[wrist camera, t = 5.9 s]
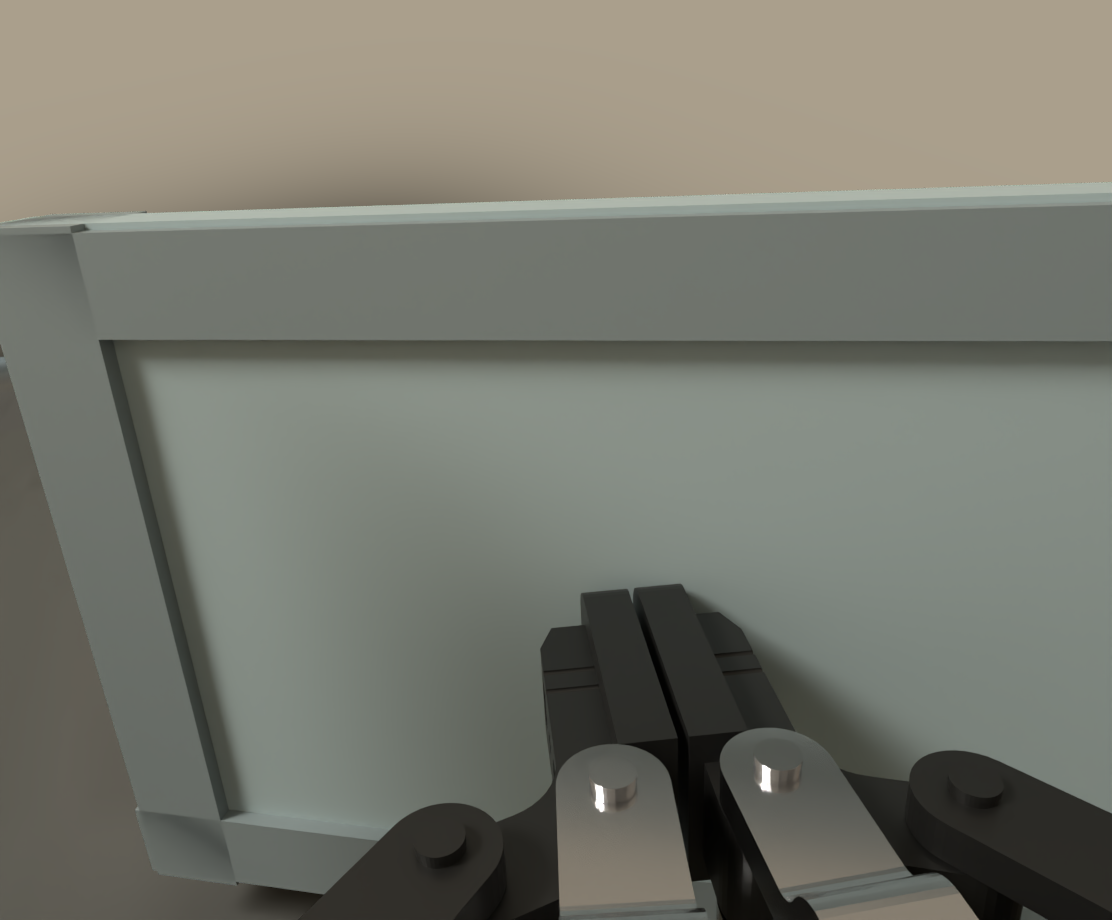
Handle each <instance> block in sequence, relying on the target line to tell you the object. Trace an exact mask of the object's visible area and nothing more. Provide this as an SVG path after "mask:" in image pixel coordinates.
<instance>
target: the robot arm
mask: <svg viewBox="0 0 1112 920" xmlns="http://www.w3.org/2000/svg"><path fill="white" fill-rule="evenodd" d="M580 606H581V625H578V626H567V627H557V628H551V629H550V631H549V633H548V635H547V637H546V639H545V641H544V643H543V645H542V646H541V648H540V653H541V667H542V682H543V696H544V711H545V725H546V735H547V743H548V751H549V759H550V767H551V774H552V784H551V786H550V787H549V789H548V790H547V792H546V793H545V794H544V795H543V796H542V797H541V798H540V799H539V800H538V801H537V802H536V803H534V804H533V805H532V806H530V807H529V808H527V809H525V810H524V811H522V812H520V813H517V814H515V815H513V816H510V817H508V818H505V819H503V820H500V821H498V822H495V820H494V819H493V818H492V817H491V816H490V815H488V814H487V813H486V812H484V811H482V810H481V809H479V808H476V807H474V806H471V805H466V804H461V803H441V804H435V805H430V806H427V807H424V808H421V809H419V810H417V811H415V812H413V813H410V814H409V815H407V816H406V817H404V818H403V819H401V820H400V821H399V822H398V823H397V824H395V825H394V826H393V827H392V828H391V829H390V830H389V831H388V832H387V833H386V834H385V835H384V836H383V837H382V838H381V839H380V840H379V841H378V842H377V843H376V844H375V845H374V846H373V847H372V848H371V849H370V850H369V851H368V852H367V853H366V854H365V855H364V856H363V857H362V858H361V859H360V860H359V861H358V862H357V863H356V864H354V865H353V866H352V867H351V868H350V869H349V870H348V871H347V872H346V873H345V874H344V875H343V876H342V877H341V878H340V879H339V880H338V881H337V882H336V883H335V884H334V885H333V886H332V887H331V888H330V889H329V890H328V891H327V892H326V893H325V894H324V895H323V896H322V897H321V898H320V899H319V900H318V901H317V902H316V903H315V904H314V905H313V906H312V907H311V908H310V909H309V910H308V911H307V912H306V913H305V914H304V915H302V916H301V917H300V918H299V919H298V920H709V918H708V915H707V912H706V910H705V909H704V908H697V905H696V901H695V896H694V891H693V886H692V882H694V881H703V880H711V882H712V886H713V889H714V892H715V895H716V920H1020V919H1021V914H1022V909H1023V906H1024V907H1026V908H1028V909H1029V910H1031V911H1033V912H1035V913H1037V914H1038V915H1040V916H1042V917H1044V918H1045V919H1047V920H1112V813H1110V812H1108V811H1105V810H1103V809H1101V808H1099V807H1097V806H1095V805H1093V804H1090V803H1088V802H1086V801H1084V800H1082V799H1080V798H1077V797H1075V796H1073V795H1071V794H1069V793H1067V792H1064V791H1062V790H1060V789H1058V788H1056V787H1054V786H1052V785H1049V784H1047V783H1045V782H1043V781H1041V780H1039V779H1036V778H1034V777H1032V776H1030V775H1028V774H1026V773H1024V772H1021V771H1019V770H1017V769H1015V768H1013V767H1011V766H1008V765H1006V764H1004V763H1002V762H1000V761H998V760H995V759H993V758H990V757H988V756H984V755H981V754H978V753H973V752H967V751H958V750H946V751H939V752H934V753H931V754H928V755H926V756H924V757H922V758H921V759H919V760H918V761H917V762H916V763H915V764H914V766H913V767H912V769H911V772H910V776H909V781H902V780H894V779H887V778H879V777H871V776H865V775H860V774H855V773H851V772H848V771H845V770H842V769H839V767H838V766H837V764H836V763H835V761H834V760H833V758H832V757H831V756H830V754H829V753H828V752H827V751H826V750H825V749H824V748H823V747H822V746H821V745H820V744H818V743H817V742H815V741H814V740H812V739H811V738H809V737H807V736H805V735H802V734H800V733H797V732H796V731H795V729H794V727H793V725H792V724H791V722H790V720H789V718H788V716H787V714H786V712H785V710H784V708H783V706H782V705H781V703H780V701H779V699H778V697H777V695H776V693H775V691H774V689H773V688H772V686H771V684H770V682H769V680H768V678H767V676H766V674H765V672H762V667H761V665H760V663H759V661H758V659H757V657H756V655H755V654H754V655H753V650H752V648H751V646H750V644H749V642H748V640H747V638H746V636H745V634H744V633H743V631H742V629H741V628H740V627H738V626H737V625H736V624H734V623H733V622H732V621H730V620H729V619H728V618H726V617H725V616H724V615H722V614H721V613H720V612H711V613H701V614H695V611H694V609H693V607H692V605H691V603H690V600H689V598H688V596H687V594H686V592H685V589H684V587H683V585H682V584H669V585H658V586H648V587H637V588H634V591H633V603H632V600H631V597H630V594H629V591H628V589H617V590H607V591H596V592H585V593H581V597H580Z"/></svg>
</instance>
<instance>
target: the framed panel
mask: <svg viewBox="0 0 1112 920" xmlns="http://www.w3.org/2000/svg"><path fill="white" fill-rule="evenodd" d="M0 344H1V347H2V351H3V354H4V357H5V361H6V364H7V367H8V371H9V374H10V377H11V381H12V384H13V388H14V391H15V394H16V398H17V401H18V404H19V408H20V411H21V414H22V418H23V421H24V425H25V428H26V431H27V435H28V438H29V441H30V445H31V448H32V451H33V455H34V458H35V462H36V465H37V468H38V472H39V475H40V478H41V482H42V485H43V488H44V492H45V495H46V499H47V502H48V505H49V509H50V512H51V515H52V519H53V522H54V525H55V529H56V532H57V536H58V539H59V542H60V546H61V549H62V552H63V556H64V559H65V562H66V566H67V569H68V573H69V576H70V579H71V583H72V586H73V589H74V593H75V596H76V600H77V603H78V606H79V610H80V613H81V616H82V620H83V623H84V626H85V630H86V633H87V637H88V640H89V643H90V647H91V650H92V653H93V657H94V660H95V663H96V667H97V670H98V674H99V677H100V680H101V684H102V687H103V690H104V694H105V697H106V700H107V704H108V707H109V711H110V714H111V717H112V721H113V724H114V727H115V731H116V734H117V737H118V741H119V744H120V748H121V751H122V754H123V758H124V761H125V764H126V768H127V771H128V774H129V778H130V781H131V785H132V788H133V791H134V795H135V798H136V801H137V805H138V807H137V808H136V809H135V812H136V816H137V819H138V822H139V826H140V829H141V832H142V836H143V839H144V842H145V846H146V849H147V852H148V856H149V859H150V862H151V866H152V869H153V870H156V871H157V872H158V874H160V875H166V876H173V877H180V878H187V879H194V880H201V881H208V882H215V883H222V884H229V885H236V886H237V885H238V883H239V882H240V883H247V884H254V885H261V886H268V887H275V888H282V889H289V890H296V891H303V892H310V893H317V894H325V893H326V892H327V891H328V890H329V889H330V888H331V887H332V886H333V885H334V884H335V883H336V882H337V881H338V880H339V879H340V878H341V877H342V876H343V875H344V874H345V873H346V872H347V871H348V870H349V869H350V868H351V867H352V866H353V865H354V864H356V863H357V862H358V861H359V860H360V859H361V858H362V857H363V856H364V855H365V854H366V853H367V852H368V851H369V850H370V849H371V848H372V847H373V846H374V845H375V844H376V843H377V842H378V841H379V840H380V839H381V838H382V837H383V836H384V835H385V834H386V833H387V832H388V831H389V830H390V829H391V828H392V827H393V826H394V825H395V824H397V823H398V822H399V821H400V820H401V819H403V818H404V817H406V816H407V815H409V814H410V813H413V812H415V811H417V810H419V809H421V808H424V807H427V806H430V805H435V804H441V803H461V804H466V805H471V806H474V807H476V808H479V809H481V810H482V811H484V812H486V813H487V814H488V815H490V816H491V817H492V818H493V819H494V820H495V822H498V821H500V820H503V819H505V818H508V817H510V816H513V815H515V814H517V813H520V812H522V811H524V810H525V809H527V808H529V807H530V806H532V805H533V804H534V803H536V802H537V801H538V800H539V799H540V798H541V797H542V796H543V795H544V794H545V793H546V792H547V790H548V789H549V787H550V786H551V784H552V774H551V767H550V759H549V751H548V743H547V735H546V725H545V711H544V696H543V682H542V667H541V653H540V648H541V646H542V645H543V643H544V641H545V639H546V637H547V635H548V633H549V631H550V629H551V628H557V627H567V626H578V625H581V606H580V597H581V593H585V592H596V591H607V590H617V589H628V591H629V594H630V597H631V600H632V603H633V591H634V588H637V587H648V586H658V585H669V584H682V585H683V587H684V589H685V592H686V594H687V596H688V598H689V600H690V603H691V605H692V607H693V609H694V611H695V614H701V613H711V612H720V613H721V614H722V615H724V616H725V617H726V618H728V619H729V620H730V621H732V622H733V623H734V624H736V625H737V626H738V627H740V628H741V629H742V631H743V633H744V634H745V636H746V638H747V640H748V642H749V644H750V646H751V648H752V650H753V655H754V654H755V655H756V657H757V659H758V661H759V663H760V665H761V667H762V672H765V674H766V676H767V678H768V680H769V682H770V684H771V686H772V688H773V689H774V691H775V693H776V695H777V697H778V699H779V701H780V703H781V705H782V706H783V708H784V710H785V712H786V714H787V716H788V718H789V720H790V722H791V724H792V725H793V727H794V729H795V731H796V732H797V733H800V734H802V735H805V736H807V737H809V738H811V739H812V740H814V741H815V742H817V743H818V744H820V745H821V746H822V747H823V748H824V749H825V750H826V751H827V752H828V753H829V754H830V756H831V757H832V758H833V760H834V761H835V763H836V764H837V766H838V767H839V769H842V770H845V771H848V772H851V773H855V774H860V775H865V776H871V777H879V778H887V779H894V780H902V781H909V776H910V772H911V769H912V767H913V766H914V764H915V763H916V762H917V761H918V760H919V759H921V758H922V757H924V756H926V755H928V754H931V753H934V752H939V751H946V750H958V751H967V752H973V753H978V754H981V755H984V756H988V757H990V758H993V759H995V760H998V761H1000V762H1002V763H1004V764H1006V765H1008V766H1011V767H1013V768H1015V769H1017V770H1019V771H1021V772H1024V773H1026V774H1028V775H1030V776H1032V777H1034V778H1036V779H1039V780H1041V781H1043V782H1045V783H1047V784H1049V785H1052V786H1054V787H1056V788H1058V789H1060V790H1062V791H1064V792H1067V793H1069V794H1071V795H1073V796H1075V797H1077V798H1080V799H1082V800H1084V801H1086V802H1088V803H1090V804H1093V805H1095V806H1097V807H1099V808H1101V809H1103V810H1105V811H1108V812H1110V813H1112V182H1104V183H1103V182H1101V183H1071V184H1040V185H1012V186H1011V185H1008V186H977V187H946V188H918V189H916V188H915V189H885V190H884V189H883V190H852V191H823V192H822V191H821V192H791V193H759V194H729V195H699V196H667V197H635V198H605V199H575V200H574V199H573V200H541V201H514V202H513V201H510V202H479V203H448V204H418V205H386V206H357V207H356V206H355V207H324V208H295V209H261V210H231V211H199V212H169V213H147V212H146V211H142V212H110V213H80V214H52V215H46V216H40V217H31V218H25V219H19V220H13V221H8V222H1V223H0ZM692 886H693V891H694V896H695V901H696V905H697V908H704V909H705V910H706V912H707V915H708V918H709V920H716V895H715V892H714V889H713V886H712V882H711V880H703V881H694V882H692ZM1020 920H1047V919H1045V918H1044V917H1042V916H1040V915H1038V914H1037V913H1035V912H1033V911H1031V910H1029V909H1028V908H1026V907H1024V906H1023V909H1022V914H1021V919H1020Z"/></svg>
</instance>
